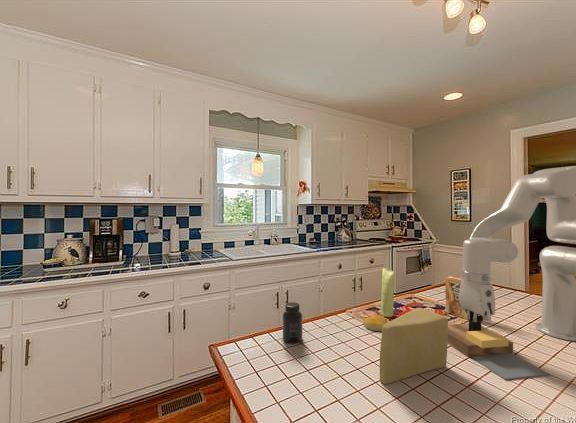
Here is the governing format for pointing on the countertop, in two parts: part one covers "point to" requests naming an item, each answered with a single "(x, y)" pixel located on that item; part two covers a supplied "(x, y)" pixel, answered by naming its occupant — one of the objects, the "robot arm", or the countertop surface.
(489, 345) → the yellow block
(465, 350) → the brown wooden block
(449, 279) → the candy box
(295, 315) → the supplement bottle
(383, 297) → the tube
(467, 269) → the robot arm
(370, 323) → the bread roll
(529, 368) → the mat
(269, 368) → the countertop surface
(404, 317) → the cheese
